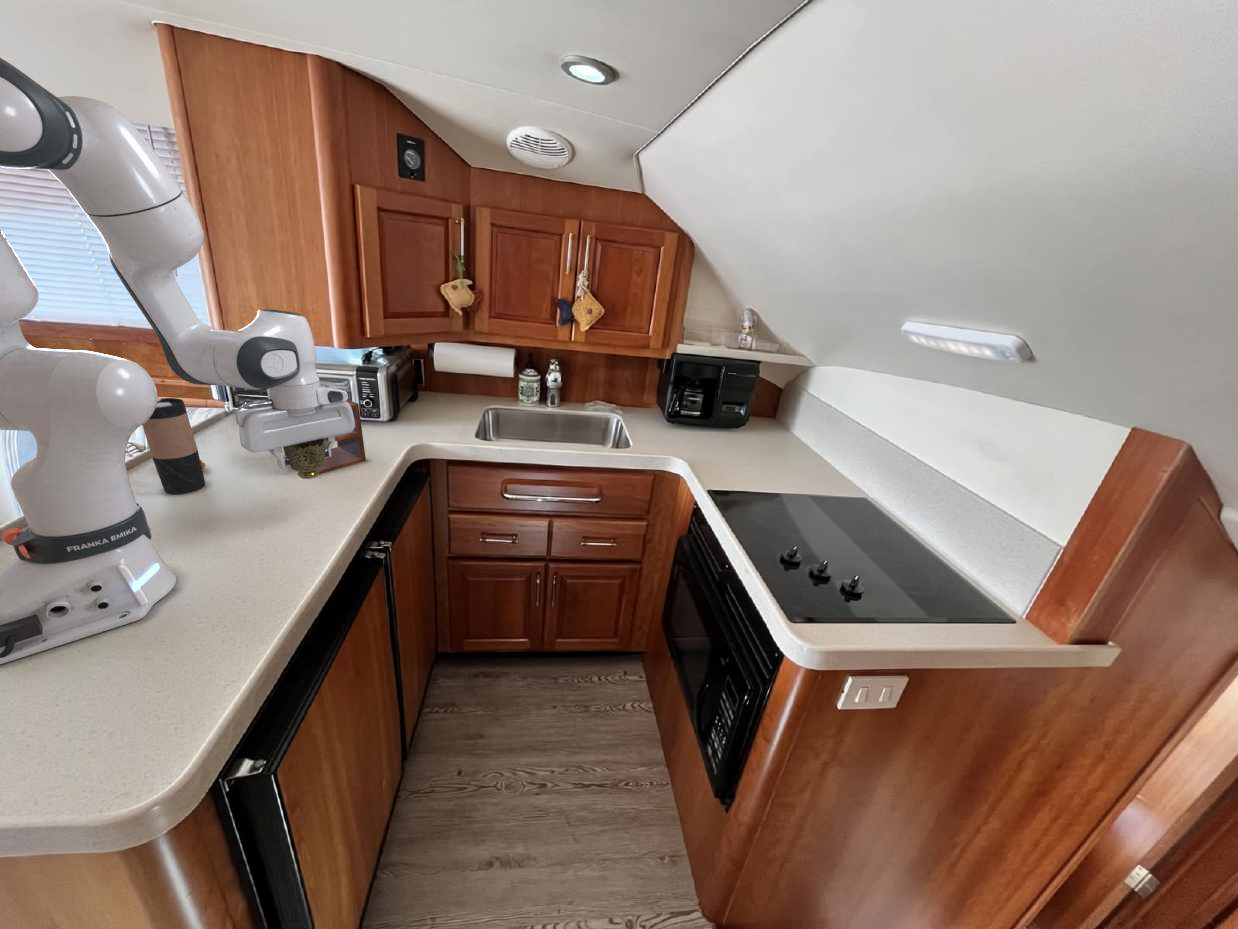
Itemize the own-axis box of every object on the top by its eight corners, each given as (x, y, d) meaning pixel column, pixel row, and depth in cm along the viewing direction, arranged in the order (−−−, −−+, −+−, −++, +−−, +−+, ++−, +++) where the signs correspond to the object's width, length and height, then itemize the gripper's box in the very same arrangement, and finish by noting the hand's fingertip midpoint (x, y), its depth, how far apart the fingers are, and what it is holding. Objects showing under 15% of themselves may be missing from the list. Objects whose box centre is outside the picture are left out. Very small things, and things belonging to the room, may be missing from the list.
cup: (310, 486, 97) (304, 448, 95) (278, 480, 99) (271, 443, 96) (337, 473, 104) (333, 437, 101) (307, 467, 105) (302, 432, 103)
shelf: (311, 476, 121) (300, 414, 115) (287, 463, 127) (276, 403, 121) (366, 460, 132) (358, 403, 126) (341, 449, 138) (333, 394, 132)
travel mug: (195, 494, 108) (170, 408, 101) (154, 495, 107) (126, 407, 99) (214, 480, 115) (191, 398, 108) (175, 480, 114) (150, 397, 106)
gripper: (241, 408, 86) (256, 480, 91) (355, 391, 102) (362, 453, 107) (225, 401, 89) (240, 471, 94) (338, 386, 105) (346, 446, 110)
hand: (306, 461), depth 100 cm, fingers closed on cup, 6 cm apart
